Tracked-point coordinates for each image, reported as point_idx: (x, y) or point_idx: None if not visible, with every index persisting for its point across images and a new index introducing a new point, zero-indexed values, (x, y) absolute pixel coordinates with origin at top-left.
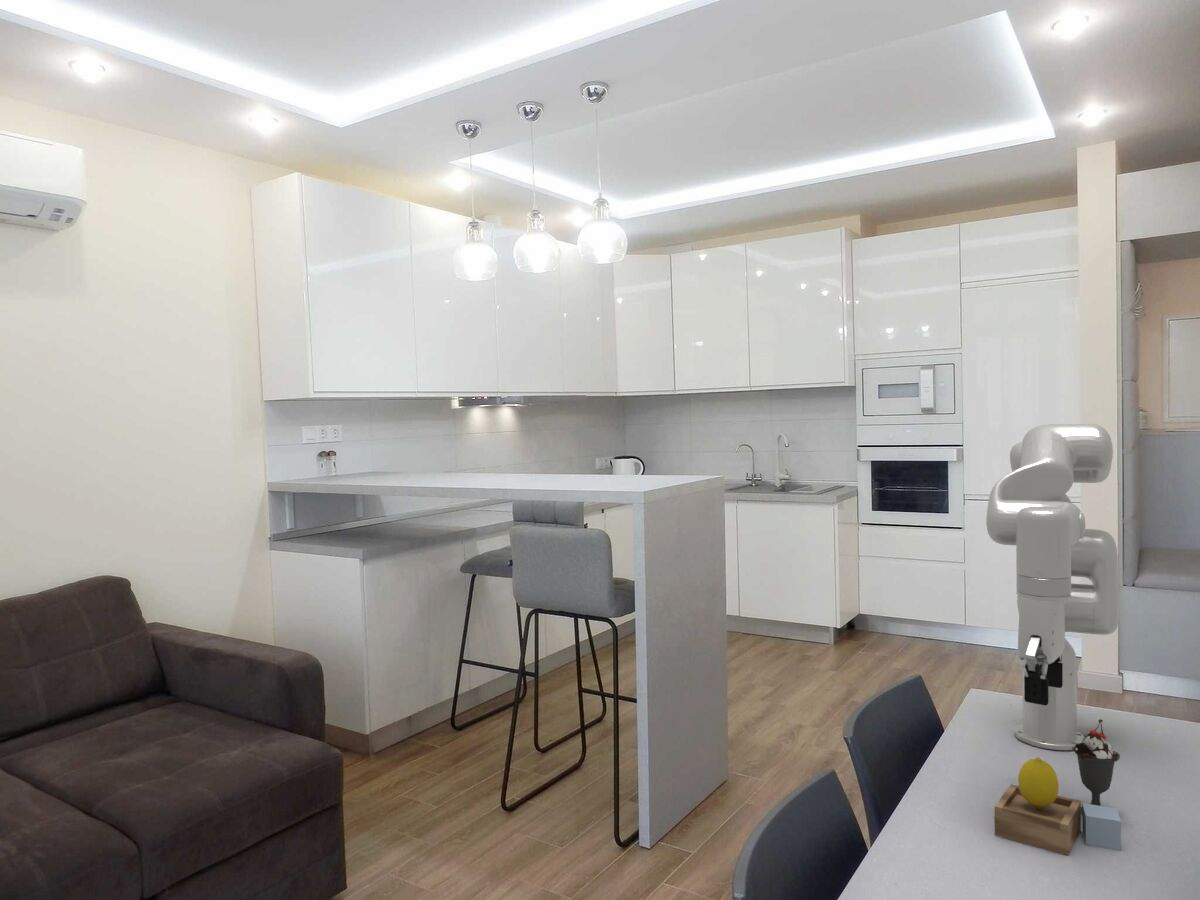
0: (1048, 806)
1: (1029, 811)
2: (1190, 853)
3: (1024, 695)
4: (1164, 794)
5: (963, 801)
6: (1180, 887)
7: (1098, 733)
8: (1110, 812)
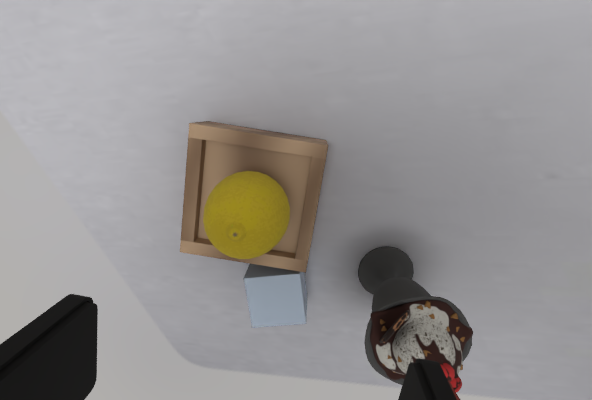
0: None
1: None
2: (301, 377)
3: (52, 307)
4: (521, 369)
5: (330, 46)
6: (187, 356)
7: (452, 381)
8: (281, 314)
